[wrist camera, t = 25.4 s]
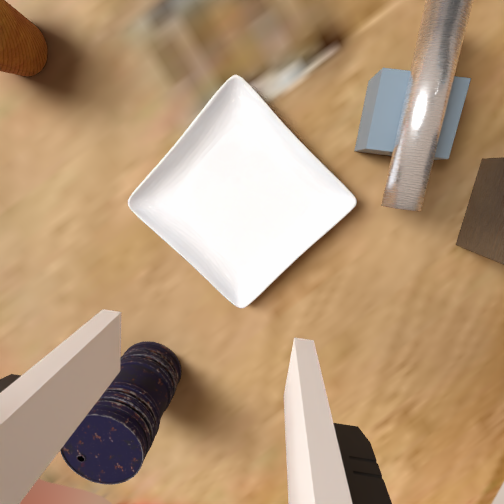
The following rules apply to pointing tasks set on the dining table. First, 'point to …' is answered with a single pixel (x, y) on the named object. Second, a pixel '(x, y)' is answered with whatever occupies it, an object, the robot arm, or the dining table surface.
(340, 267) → the dining table surface
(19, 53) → the disposable coffee cup
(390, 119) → the v block
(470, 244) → the slotted grey block
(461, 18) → the axle
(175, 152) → the salad plate
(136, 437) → the dark blue ridged cylinder
